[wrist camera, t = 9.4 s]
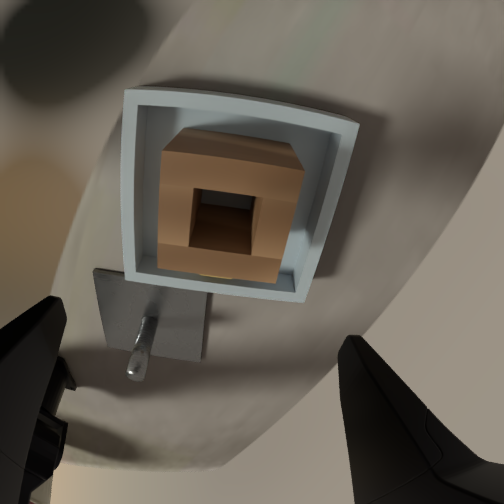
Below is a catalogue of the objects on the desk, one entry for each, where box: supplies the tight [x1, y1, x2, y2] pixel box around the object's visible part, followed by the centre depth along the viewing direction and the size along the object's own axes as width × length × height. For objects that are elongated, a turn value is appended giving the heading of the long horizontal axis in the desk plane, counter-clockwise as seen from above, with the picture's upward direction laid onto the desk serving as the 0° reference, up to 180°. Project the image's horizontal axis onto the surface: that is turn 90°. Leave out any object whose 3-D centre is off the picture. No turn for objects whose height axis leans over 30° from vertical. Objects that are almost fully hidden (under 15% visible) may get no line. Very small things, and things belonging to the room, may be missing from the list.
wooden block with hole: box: [157, 128, 305, 284], centre depth 17 cm, size 8×6×5 cm
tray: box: [121, 86, 360, 303], centre depth 18 cm, size 12×12×2 cm
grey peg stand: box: [93, 269, 207, 382], centre depth 23 cm, size 9×9×6 cm
